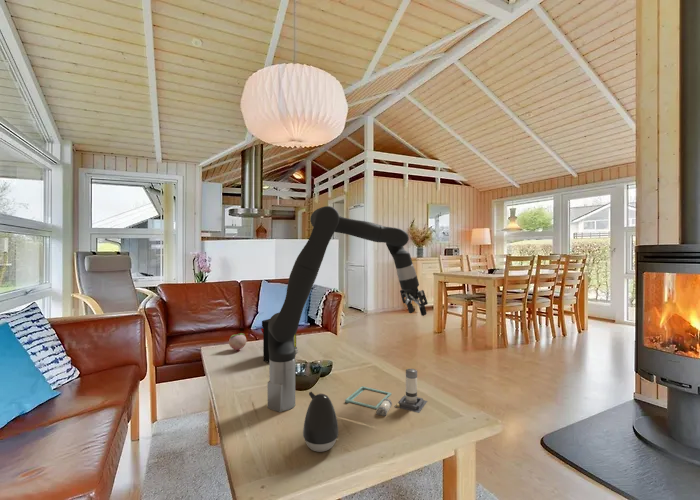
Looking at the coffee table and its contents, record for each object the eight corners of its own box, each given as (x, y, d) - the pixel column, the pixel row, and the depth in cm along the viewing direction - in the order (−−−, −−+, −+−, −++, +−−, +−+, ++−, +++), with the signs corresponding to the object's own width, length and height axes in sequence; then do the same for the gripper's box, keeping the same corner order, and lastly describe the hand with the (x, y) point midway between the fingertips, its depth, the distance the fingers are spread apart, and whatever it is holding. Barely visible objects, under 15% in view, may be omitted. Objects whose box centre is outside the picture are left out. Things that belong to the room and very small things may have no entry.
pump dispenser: (323, 432, 107) (323, 383, 107) (345, 446, 100) (345, 394, 99) (295, 445, 100) (295, 393, 100) (317, 462, 93) (317, 406, 92)
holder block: (419, 415, 118) (419, 409, 118) (394, 409, 122) (394, 403, 122) (427, 403, 126) (427, 397, 126) (404, 398, 131) (404, 392, 131)
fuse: (387, 416, 115) (382, 406, 116) (379, 419, 116) (374, 410, 117) (393, 405, 122) (388, 396, 123) (385, 409, 123) (381, 400, 124)
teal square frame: (376, 412, 120) (376, 407, 120) (345, 403, 126) (345, 399, 126) (391, 396, 132) (391, 392, 132) (362, 389, 138) (362, 386, 138)
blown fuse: (414, 407, 121) (415, 373, 121) (403, 404, 123) (404, 371, 123) (418, 402, 125) (418, 369, 125) (407, 400, 127) (407, 367, 127)
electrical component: (275, 364, 167) (275, 323, 166) (260, 360, 172) (260, 320, 172) (299, 354, 182) (299, 316, 181) (284, 351, 187) (284, 314, 186)
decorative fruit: (236, 354, 181) (236, 335, 181) (226, 351, 185) (226, 333, 185) (250, 349, 189) (250, 331, 189) (240, 347, 193) (240, 329, 193)
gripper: (390, 279, 147) (401, 315, 148) (410, 280, 134) (421, 319, 135) (404, 273, 150) (414, 308, 151) (425, 274, 137) (435, 312, 138)
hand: (417, 313), depth 143 cm, fingers open, 8 cm apart
